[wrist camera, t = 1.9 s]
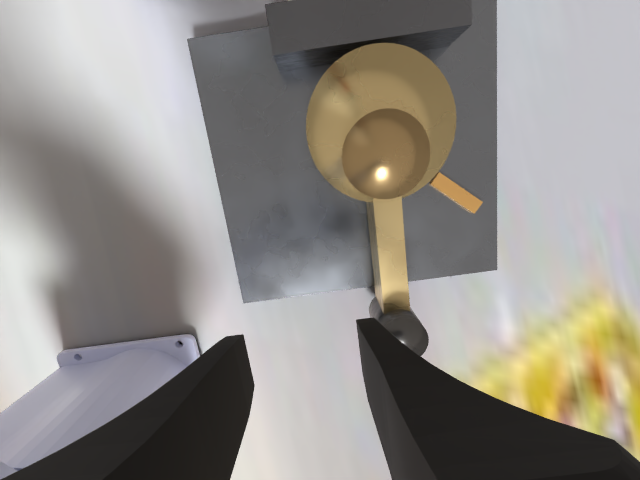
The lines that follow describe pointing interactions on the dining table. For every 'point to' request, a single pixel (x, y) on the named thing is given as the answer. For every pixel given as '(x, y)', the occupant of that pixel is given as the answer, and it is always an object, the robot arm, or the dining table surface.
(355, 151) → the tan piece
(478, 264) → the stand base
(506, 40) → the dining table surface
